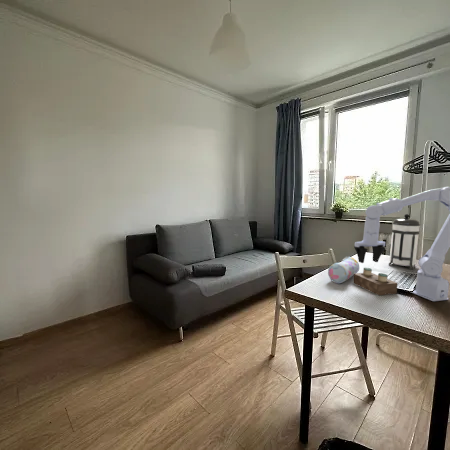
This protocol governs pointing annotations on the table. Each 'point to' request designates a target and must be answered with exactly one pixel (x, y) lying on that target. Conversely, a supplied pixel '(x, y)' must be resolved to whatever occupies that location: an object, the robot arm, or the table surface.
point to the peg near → (382, 278)
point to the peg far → (367, 272)
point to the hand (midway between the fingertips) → (368, 262)
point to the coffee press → (404, 242)
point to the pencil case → (343, 270)
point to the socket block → (375, 284)
